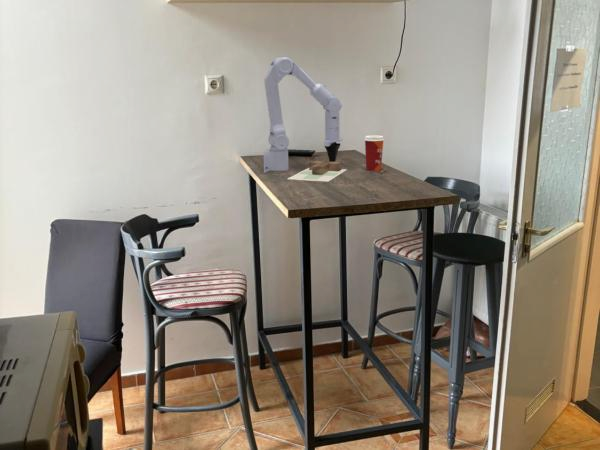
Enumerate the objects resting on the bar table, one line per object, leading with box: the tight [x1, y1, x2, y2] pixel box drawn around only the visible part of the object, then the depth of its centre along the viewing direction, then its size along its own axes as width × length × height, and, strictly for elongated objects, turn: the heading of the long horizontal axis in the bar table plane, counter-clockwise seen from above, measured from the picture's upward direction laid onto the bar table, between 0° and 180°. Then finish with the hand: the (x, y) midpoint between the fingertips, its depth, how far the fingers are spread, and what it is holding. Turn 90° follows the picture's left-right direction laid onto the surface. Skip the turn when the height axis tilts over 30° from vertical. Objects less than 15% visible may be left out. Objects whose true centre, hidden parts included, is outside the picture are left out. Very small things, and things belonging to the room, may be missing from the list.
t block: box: [308, 160, 342, 175], centre depth 230 cm, size 12×12×3 cm
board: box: [287, 167, 348, 185], centre depth 226 cm, size 16×24×1 cm, turn 159°
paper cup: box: [363, 134, 385, 174], centre depth 231 cm, size 8×8×14 cm
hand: (332, 161), depth 241 cm, fingers closed
